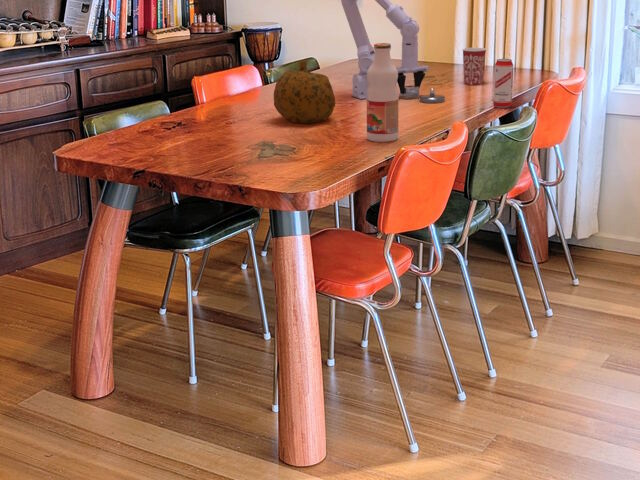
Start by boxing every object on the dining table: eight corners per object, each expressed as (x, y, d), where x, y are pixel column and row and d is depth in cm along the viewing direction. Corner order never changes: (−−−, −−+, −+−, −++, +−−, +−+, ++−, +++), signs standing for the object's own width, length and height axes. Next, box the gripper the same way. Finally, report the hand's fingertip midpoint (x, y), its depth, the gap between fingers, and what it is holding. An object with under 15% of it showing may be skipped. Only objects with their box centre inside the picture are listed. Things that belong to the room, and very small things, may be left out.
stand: (405, 100, 331) (405, 91, 330) (396, 96, 338) (396, 88, 337) (422, 98, 334) (422, 89, 333) (413, 95, 340) (413, 86, 339)
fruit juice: (401, 141, 270) (401, 45, 261) (369, 143, 269) (368, 46, 260) (395, 134, 279) (395, 41, 270) (364, 136, 278) (363, 42, 269)
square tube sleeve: (406, 97, 332) (406, 88, 331) (399, 95, 337) (400, 86, 336) (419, 96, 334) (419, 87, 333) (412, 94, 339) (412, 84, 338)
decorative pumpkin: (282, 127, 289) (281, 62, 284) (268, 120, 309) (267, 59, 304) (344, 124, 294) (344, 61, 289) (326, 117, 314) (326, 58, 309)
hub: (426, 104, 323) (426, 91, 321) (415, 100, 331) (415, 87, 329) (449, 101, 326) (449, 89, 324) (437, 97, 334) (437, 85, 332)
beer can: (511, 108, 312) (513, 61, 306) (492, 108, 313) (494, 61, 308) (511, 105, 317) (513, 58, 312) (493, 104, 319) (495, 58, 313)
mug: (482, 86, 354) (483, 51, 349) (459, 85, 357) (460, 50, 353) (489, 81, 365) (490, 46, 360) (467, 80, 368) (468, 46, 364)
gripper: (396, 58, 325) (396, 96, 329) (432, 55, 330) (432, 92, 334) (387, 55, 331) (387, 93, 335) (423, 52, 336) (423, 89, 340)
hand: (409, 92), depth 335 cm, fingers closed on square tube sleeve, 5 cm apart
